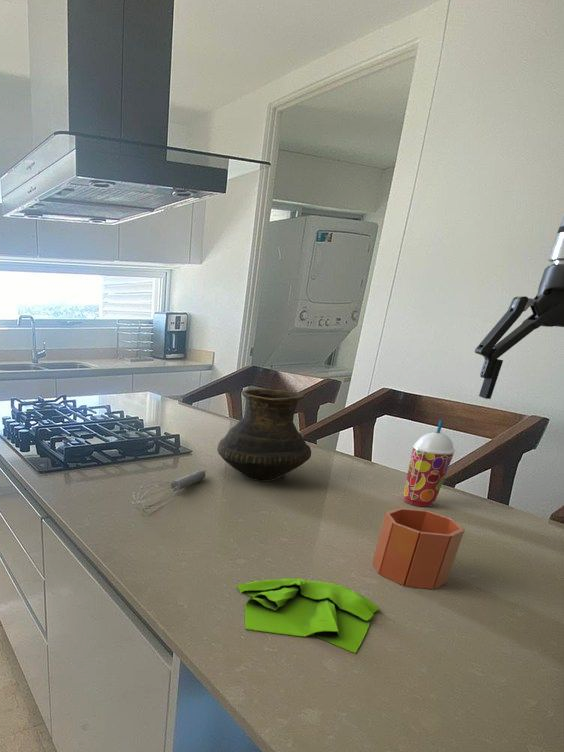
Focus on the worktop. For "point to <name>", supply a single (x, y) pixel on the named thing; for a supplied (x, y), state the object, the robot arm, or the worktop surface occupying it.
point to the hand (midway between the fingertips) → (527, 399)
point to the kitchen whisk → (176, 485)
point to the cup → (417, 547)
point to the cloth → (308, 610)
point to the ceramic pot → (266, 436)
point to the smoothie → (428, 468)
